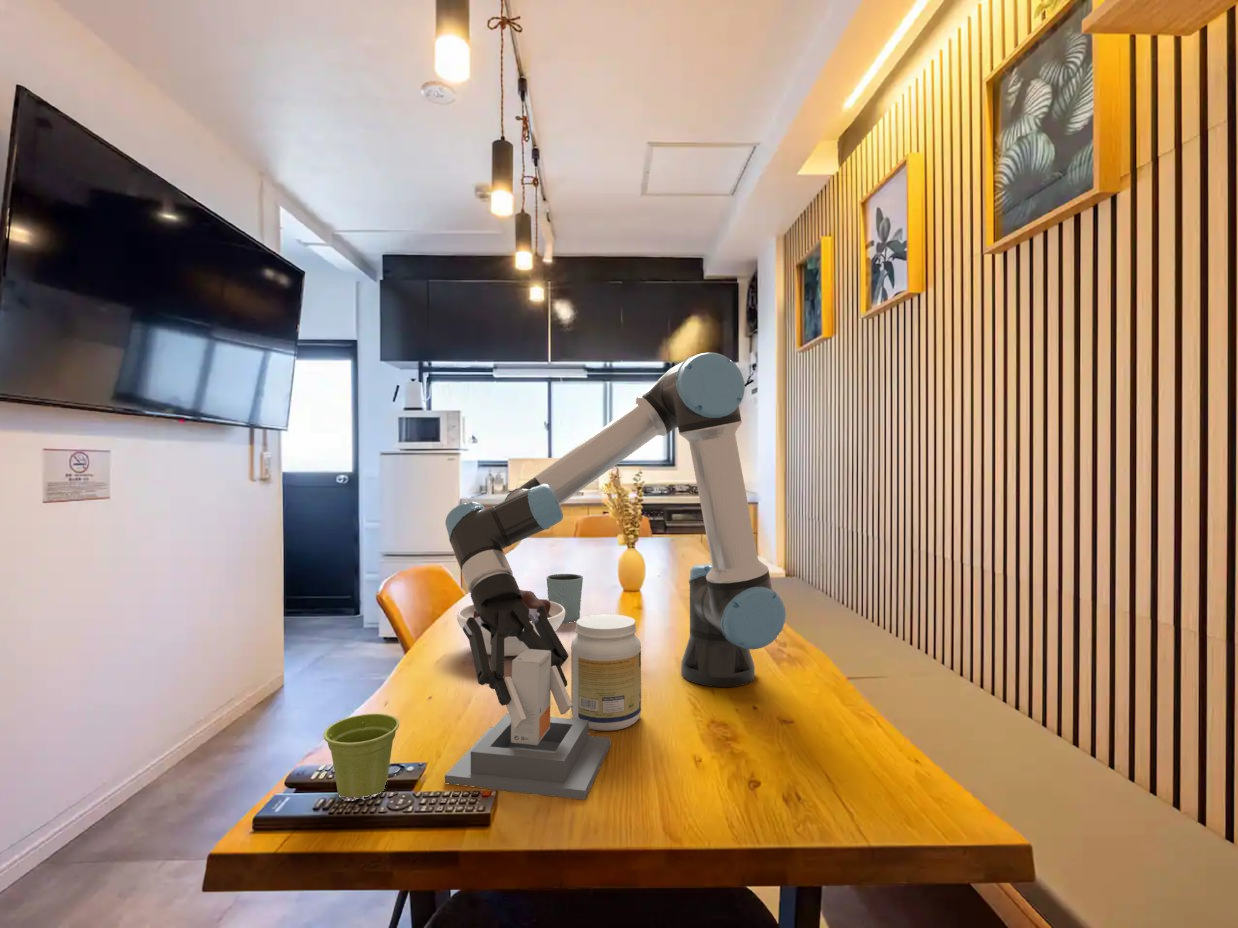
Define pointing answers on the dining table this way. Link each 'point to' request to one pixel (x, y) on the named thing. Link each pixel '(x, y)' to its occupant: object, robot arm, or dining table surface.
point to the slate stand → (534, 760)
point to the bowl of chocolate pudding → (512, 644)
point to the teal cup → (566, 594)
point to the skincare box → (532, 694)
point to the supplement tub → (606, 672)
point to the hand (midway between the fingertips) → (544, 716)
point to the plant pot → (361, 752)
